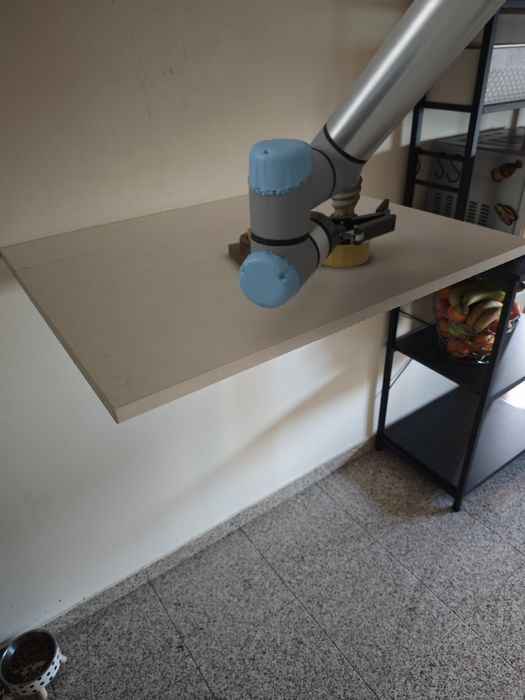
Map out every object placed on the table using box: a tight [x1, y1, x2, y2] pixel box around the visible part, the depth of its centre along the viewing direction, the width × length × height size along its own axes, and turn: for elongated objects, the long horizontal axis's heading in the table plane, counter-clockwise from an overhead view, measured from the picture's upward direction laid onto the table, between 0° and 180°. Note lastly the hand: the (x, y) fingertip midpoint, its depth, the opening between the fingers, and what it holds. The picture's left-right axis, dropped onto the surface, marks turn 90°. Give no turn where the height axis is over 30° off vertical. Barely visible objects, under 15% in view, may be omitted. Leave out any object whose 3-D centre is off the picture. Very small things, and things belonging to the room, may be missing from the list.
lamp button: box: [246, 227, 251, 241], centre depth 90 cm, size 4×4×2 cm
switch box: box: [227, 231, 251, 267], centre depth 90 cm, size 12×9×4 cm
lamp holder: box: [321, 239, 372, 268], centre depth 92 cm, size 10×10×4 cm
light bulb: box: [329, 174, 363, 245], centre depth 88 cm, size 6×6×15 cm
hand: (348, 202), depth 89 cm, fingers open, 13 cm apart
